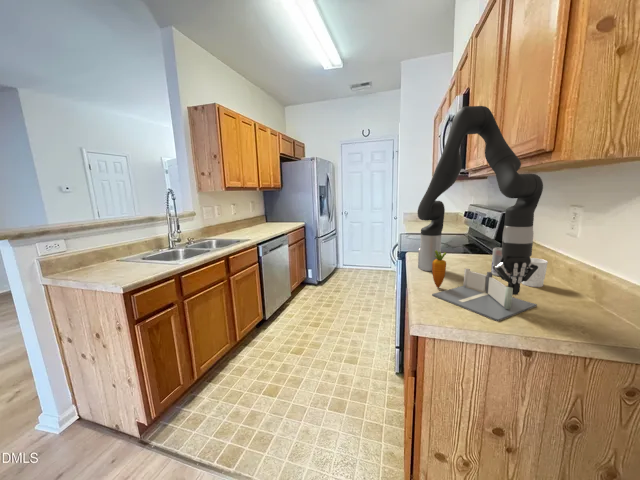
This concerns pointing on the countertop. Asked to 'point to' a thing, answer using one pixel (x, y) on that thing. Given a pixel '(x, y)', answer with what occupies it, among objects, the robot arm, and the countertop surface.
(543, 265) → the white cup
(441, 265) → the carrot
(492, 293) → the fence gate
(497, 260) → the energy drink
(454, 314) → the countertop surface
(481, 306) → the card
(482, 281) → the bar
